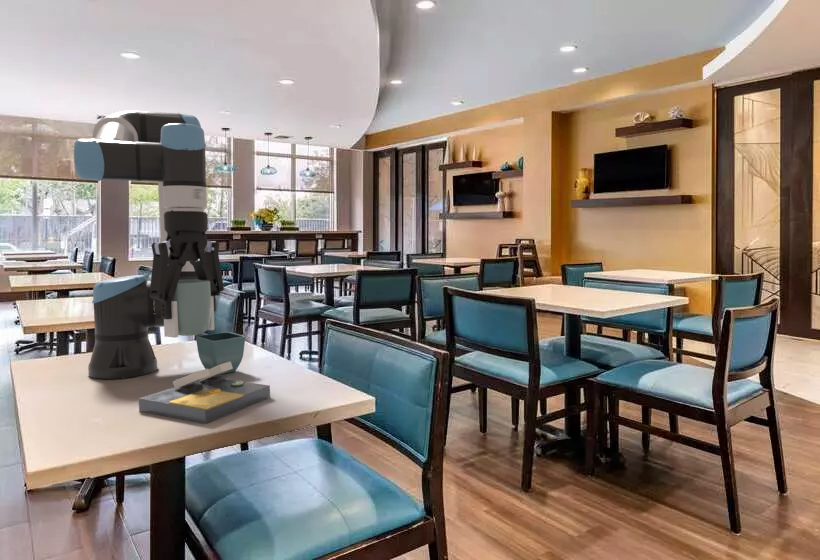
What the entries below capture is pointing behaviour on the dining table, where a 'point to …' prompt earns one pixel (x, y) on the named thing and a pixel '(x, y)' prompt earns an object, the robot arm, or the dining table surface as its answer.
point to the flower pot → (220, 349)
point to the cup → (193, 306)
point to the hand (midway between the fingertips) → (190, 332)
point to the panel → (204, 399)
